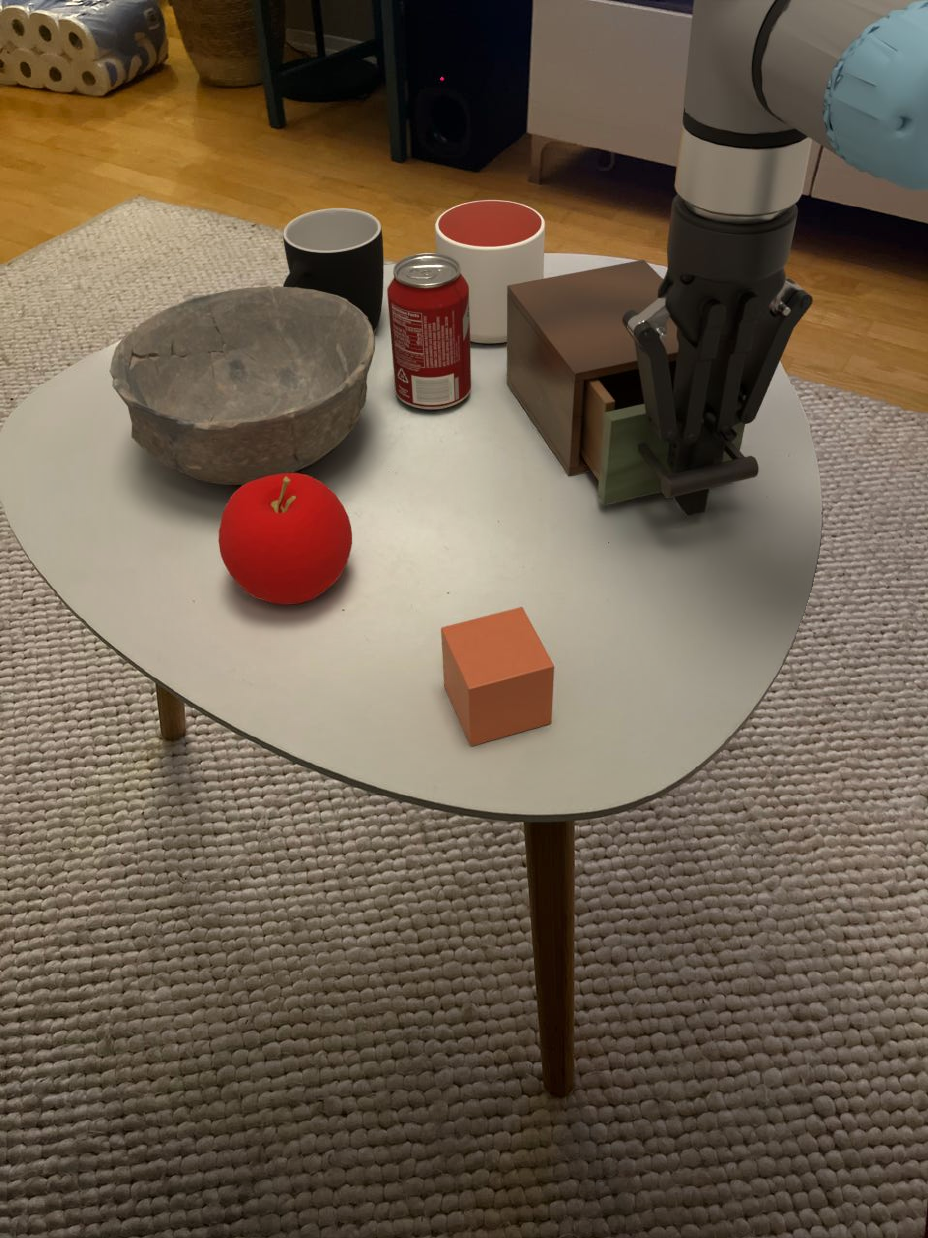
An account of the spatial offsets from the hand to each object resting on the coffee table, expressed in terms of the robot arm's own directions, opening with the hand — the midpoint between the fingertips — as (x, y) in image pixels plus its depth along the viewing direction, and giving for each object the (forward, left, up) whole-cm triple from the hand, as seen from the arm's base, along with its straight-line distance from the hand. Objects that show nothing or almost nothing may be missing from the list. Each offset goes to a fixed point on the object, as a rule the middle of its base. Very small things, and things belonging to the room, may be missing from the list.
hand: (688, 503), depth 81 cm
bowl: (+20, +29, -2) cm, 35 cm away
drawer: (+7, 0, -1) cm, 7 cm away
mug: (+36, +19, -2) cm, 41 cm away
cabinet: (+15, 0, -2) cm, 15 cm away
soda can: (+23, +13, -2) cm, 27 cm away
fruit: (+3, +30, -2) cm, 30 cm away
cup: (+33, +4, -2) cm, 34 cm away
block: (-13, +20, -2) cm, 24 cm away
